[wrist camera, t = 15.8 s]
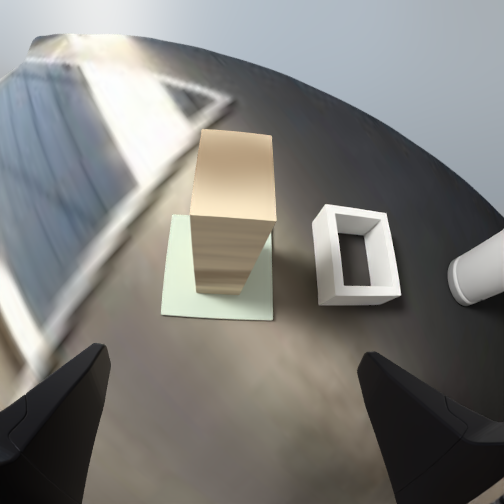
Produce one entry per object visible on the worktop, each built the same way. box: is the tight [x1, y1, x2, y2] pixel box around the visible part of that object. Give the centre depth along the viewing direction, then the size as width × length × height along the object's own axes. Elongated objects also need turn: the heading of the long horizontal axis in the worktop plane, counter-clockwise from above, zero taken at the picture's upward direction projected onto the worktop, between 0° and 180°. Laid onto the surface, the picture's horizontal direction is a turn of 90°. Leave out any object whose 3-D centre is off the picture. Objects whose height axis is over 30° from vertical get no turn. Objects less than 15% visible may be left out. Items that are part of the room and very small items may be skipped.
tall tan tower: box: [190, 129, 276, 295], centre depth 18 cm, size 5×4×12 cm
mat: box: [161, 214, 273, 321], centre depth 24 cm, size 9×9×1 cm
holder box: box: [312, 204, 401, 305], centre depth 24 cm, size 8×7×4 cm
